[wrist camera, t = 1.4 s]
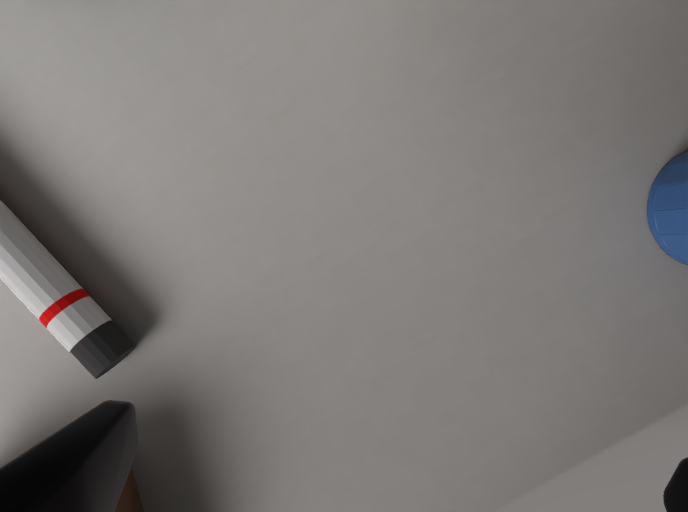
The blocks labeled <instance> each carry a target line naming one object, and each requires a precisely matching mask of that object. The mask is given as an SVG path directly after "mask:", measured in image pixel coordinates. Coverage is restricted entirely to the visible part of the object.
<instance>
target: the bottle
mask: <svg viewBox="0 0 688 512" xmlns="http://www.w3.org/2000/svg"><path fill="white" fill-rule="evenodd" d="M647 216H648V222H649V226H650V229H651V232H652V234H653V236H654V238H655V240H656V241H657V243H658V244H659V246H660V247H661V248H662V249H663V250H664V251H665V252H666V253H667V254H668V255H669V256H671V257H672V258H673V259H675V260H677V261H679V262H681V263H683V264H686V265H688V151H687V152H685V153H683V154H680V155H679V156H677V157H676V158H674V159H672V160H671V161H670V162H669V163H668V164H667V165H666V166H665V167H664V168H663V169H662V170H661V171H660V173H659V174H658V176H657V177H656V179H655V181H654V183H653V185H652V187H651V190H650V193H649V197H648V204H647Z"/></svg>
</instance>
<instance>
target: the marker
mask: <svg viewBox="0 0 688 512" xmlns="http://www.w3.org/2000/svg"><path fill="white" fill-rule="evenodd" d="M0 279H1V280H2V281H3V282H4V283H5V284H6V285H7V286H8V287H9V289H10V290H11V291H12V292H13V293H14V294H15V295H16V296H17V297H18V298H19V299H20V300H21V301H22V302H23V303H24V305H25V306H26V307H27V308H28V309H29V310H30V311H31V312H32V313H33V314H34V315H35V316H36V317H37V318H38V319H39V321H40V322H41V323H42V324H43V325H44V326H45V327H46V328H47V329H48V330H49V331H50V332H51V333H52V334H53V335H54V337H55V338H56V339H57V340H58V341H59V342H60V343H61V344H62V345H63V346H64V347H65V348H66V349H67V350H68V351H69V353H72V354H73V355H74V356H75V357H76V358H77V359H78V360H79V361H80V363H81V364H82V365H83V366H84V367H85V368H86V369H87V370H88V371H89V372H90V373H91V374H92V375H93V376H94V377H95V379H97V378H99V377H100V376H102V375H103V374H105V373H106V372H108V371H109V370H110V369H112V368H113V367H114V366H115V365H117V364H118V363H119V362H120V361H121V360H123V359H124V358H125V357H126V356H127V355H128V354H129V353H130V352H131V351H132V350H133V349H134V348H135V346H134V345H133V344H132V342H131V341H130V340H129V339H128V338H127V337H126V336H125V335H124V334H123V333H122V332H121V331H120V330H119V328H118V327H117V326H116V325H115V324H114V323H113V322H112V319H111V318H110V317H109V316H108V315H107V314H106V313H105V312H104V311H103V310H102V309H101V308H100V306H99V305H98V304H97V303H96V302H95V301H94V300H93V299H92V298H91V297H90V296H89V295H88V294H87V292H86V291H85V290H84V289H83V288H82V287H81V286H80V285H79V284H78V283H77V282H76V281H75V279H74V278H73V277H72V276H71V275H70V274H69V273H68V272H67V271H66V270H65V269H64V268H63V267H62V265H61V264H60V263H59V262H58V261H57V260H56V259H55V258H54V257H53V256H52V255H51V254H50V253H49V251H48V250H47V249H46V248H45V247H44V246H43V245H42V244H41V243H40V242H39V241H38V240H37V239H36V237H35V236H34V235H33V234H32V233H31V232H30V231H29V230H28V229H27V228H26V227H25V226H24V225H23V223H22V222H21V221H20V220H19V219H18V218H17V217H16V216H15V215H14V214H13V213H12V212H11V211H10V209H9V208H8V207H7V206H6V205H5V204H4V203H3V202H2V201H1V200H0Z"/></svg>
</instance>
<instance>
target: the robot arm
mask: <svg viewBox="0 0 688 512" xmlns="http://www.w3.org/2000/svg"><path fill="white" fill-rule="evenodd" d="M137 448H138V433H137V423H136V413H135V407H134V405H133V404H132V403H130V402H122V401H112V400H109V401H105V402H103V403H101V404H99V405H98V406H96V407H95V408H93V409H92V410H90V411H89V412H87V413H85V414H84V415H82V416H81V417H79V418H78V419H76V420H75V421H73V422H71V423H70V424H68V425H67V426H65V427H64V428H62V429H61V430H59V431H58V432H56V433H54V434H53V435H51V436H50V437H48V438H47V439H45V440H44V441H42V442H40V443H39V444H37V445H36V446H34V447H33V448H31V449H30V450H28V451H26V452H25V453H23V454H22V455H20V456H19V457H17V458H16V459H14V460H12V461H11V462H9V463H8V464H6V465H5V466H3V467H2V468H0V512H114V511H115V509H116V506H117V503H118V501H119V498H120V496H121V493H122V490H123V488H124V485H125V482H126V480H127V477H128V474H129V472H130V469H131V467H132V464H133V461H134V459H135V456H136V452H137ZM663 496H664V505H665V508H666V510H667V512H688V458H685V459H683V460H682V461H681V462H680V463H679V465H678V467H677V469H676V471H675V472H674V474H673V476H672V478H671V480H670V481H669V483H668V485H667V487H666V488H665V491H664V495H663Z"/></svg>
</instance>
